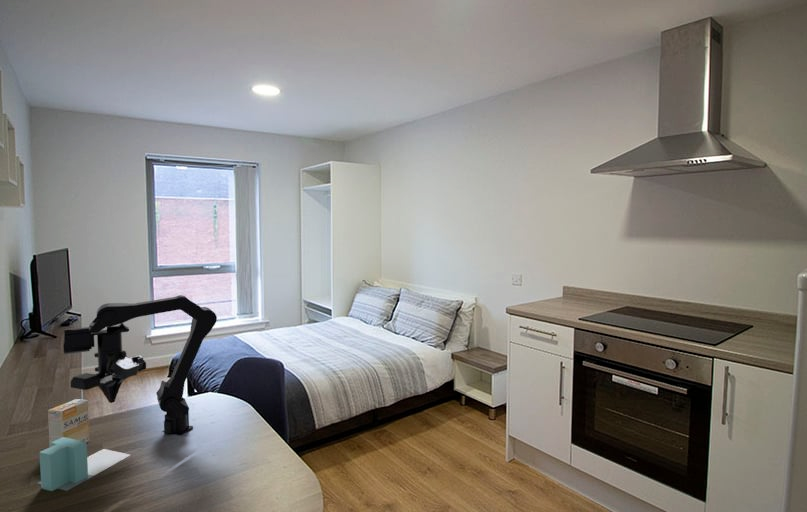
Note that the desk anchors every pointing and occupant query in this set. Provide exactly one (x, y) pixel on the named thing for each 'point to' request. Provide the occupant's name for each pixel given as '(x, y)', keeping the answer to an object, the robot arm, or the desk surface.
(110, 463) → the board
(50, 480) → the t block
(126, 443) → the desk surface
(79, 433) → the supplement box
